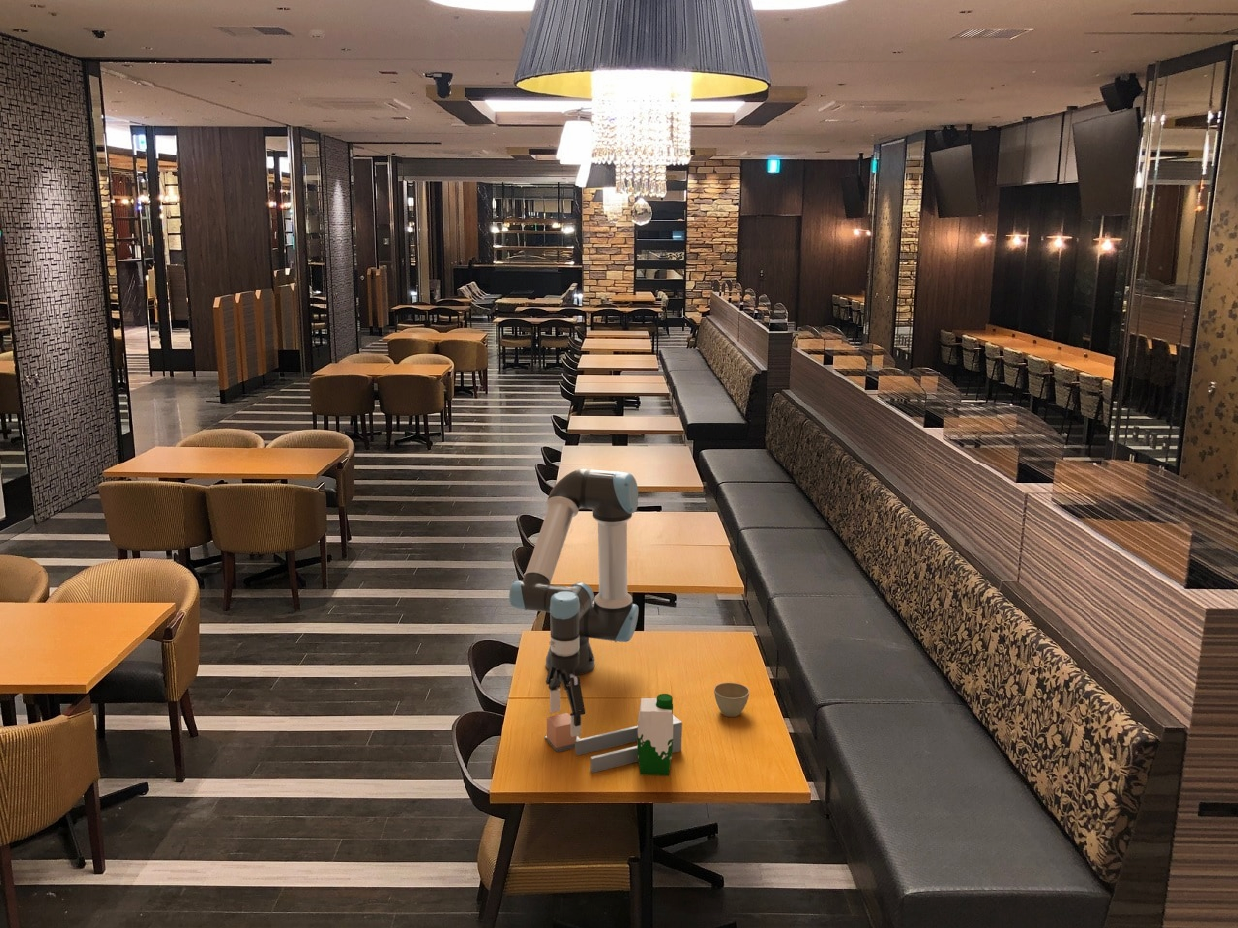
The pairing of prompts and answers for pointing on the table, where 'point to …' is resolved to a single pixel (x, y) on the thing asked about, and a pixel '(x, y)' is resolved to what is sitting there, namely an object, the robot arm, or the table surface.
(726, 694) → the flower pot
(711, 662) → the table surface
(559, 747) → the coaster
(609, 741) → the chute
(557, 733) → the block
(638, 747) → the milk carton
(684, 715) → the table surface
